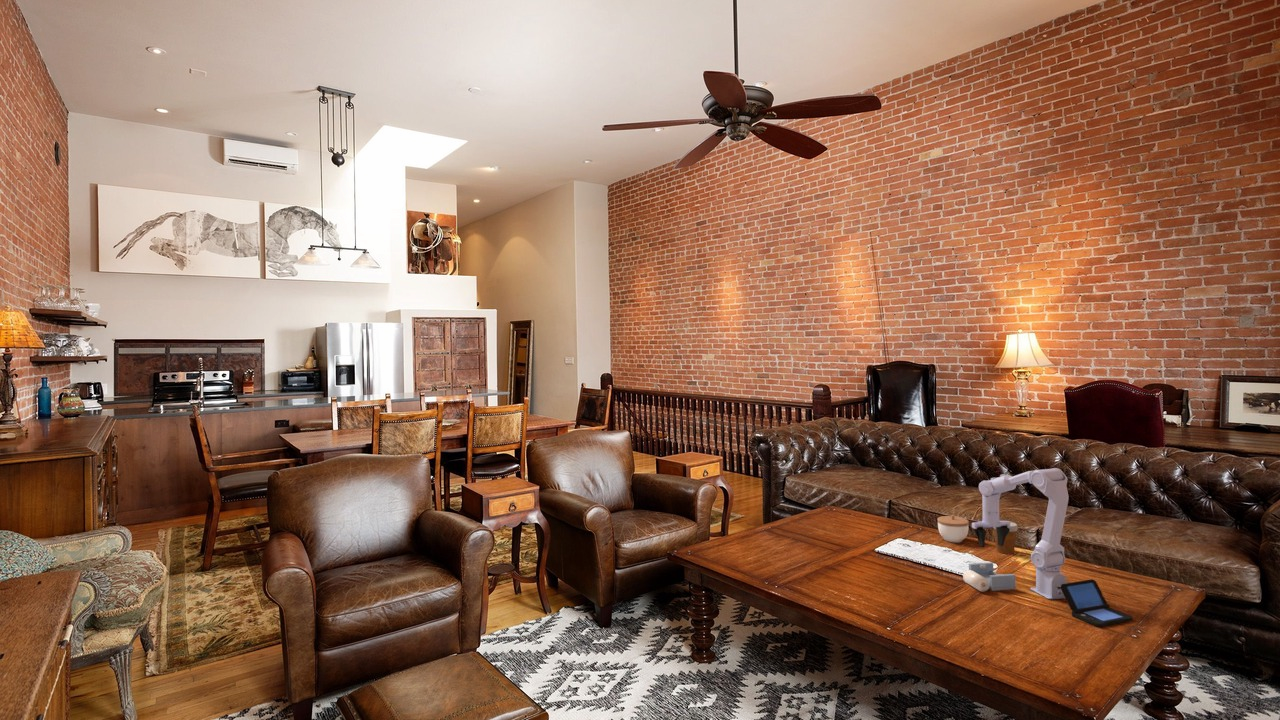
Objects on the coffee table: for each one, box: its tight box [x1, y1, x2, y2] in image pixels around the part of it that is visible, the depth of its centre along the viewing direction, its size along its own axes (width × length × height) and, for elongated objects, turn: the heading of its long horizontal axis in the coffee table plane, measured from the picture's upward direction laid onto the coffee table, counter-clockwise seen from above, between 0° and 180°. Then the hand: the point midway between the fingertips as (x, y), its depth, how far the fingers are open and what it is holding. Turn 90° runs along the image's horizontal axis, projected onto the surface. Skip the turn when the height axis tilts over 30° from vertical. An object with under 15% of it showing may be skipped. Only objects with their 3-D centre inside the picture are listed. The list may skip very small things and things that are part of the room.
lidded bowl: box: [937, 514, 970, 543], centre depth 286 cm, size 13×13×11 cm
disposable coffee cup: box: [992, 521, 1019, 555], centre depth 269 cm, size 10×10×12 cm
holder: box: [968, 561, 1017, 592], centre depth 237 cm, size 14×9×5 cm, turn 6°
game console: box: [1061, 579, 1134, 628], centre depth 208 cm, size 16×14×9 cm
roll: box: [962, 569, 990, 592], centre depth 233 cm, size 8×5×5 cm, turn 6°
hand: (991, 545), depth 248 cm, fingers open, 7 cm apart
